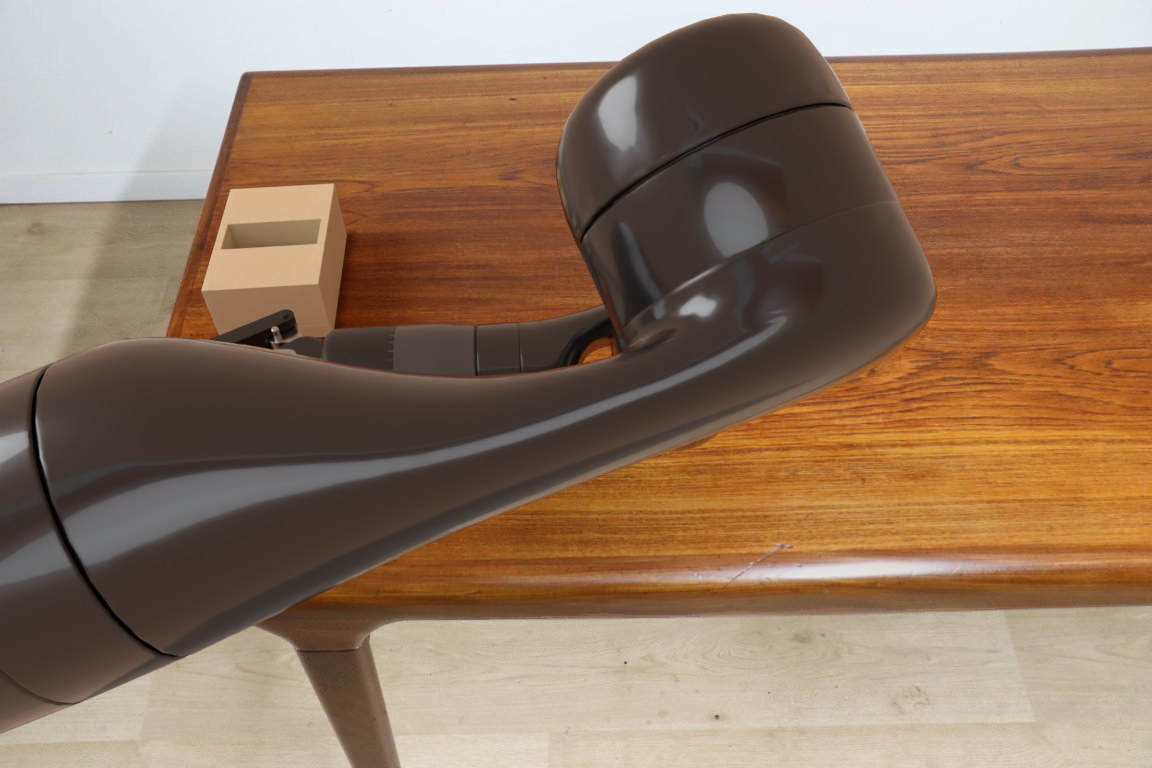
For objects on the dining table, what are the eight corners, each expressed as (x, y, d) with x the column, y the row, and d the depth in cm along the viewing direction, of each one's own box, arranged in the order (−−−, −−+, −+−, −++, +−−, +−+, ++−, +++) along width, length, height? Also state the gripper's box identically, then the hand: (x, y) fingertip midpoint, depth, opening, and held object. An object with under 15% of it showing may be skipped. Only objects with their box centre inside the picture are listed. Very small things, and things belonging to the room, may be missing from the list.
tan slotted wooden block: (333, 336, 81) (318, 283, 77) (222, 343, 81) (200, 290, 76) (347, 229, 91) (335, 176, 87) (249, 234, 91) (232, 182, 87)
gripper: (403, 267, 61) (131, 283, 61) (392, 429, 52) (70, 451, 51) (419, 349, 67) (169, 365, 66) (411, 509, 57) (120, 530, 57)
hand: (127, 403), depth 59 cm, fingers closed
